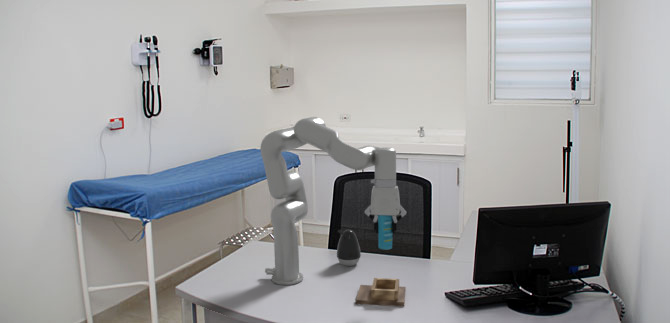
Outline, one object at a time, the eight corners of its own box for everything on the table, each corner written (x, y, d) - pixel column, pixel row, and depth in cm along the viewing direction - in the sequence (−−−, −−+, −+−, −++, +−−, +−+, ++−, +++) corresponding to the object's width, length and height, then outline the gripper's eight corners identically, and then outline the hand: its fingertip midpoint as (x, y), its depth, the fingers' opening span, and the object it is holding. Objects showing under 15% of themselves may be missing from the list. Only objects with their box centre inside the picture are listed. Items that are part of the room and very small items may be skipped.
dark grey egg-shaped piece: (345, 258, 245) (344, 225, 242) (365, 262, 239) (364, 228, 236) (331, 265, 237) (331, 230, 234) (352, 270, 231) (351, 234, 228)
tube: (381, 251, 196) (381, 198, 192) (373, 247, 200) (373, 195, 196) (397, 247, 200) (398, 195, 196) (389, 244, 204) (389, 193, 200)
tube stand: (356, 303, 198) (356, 290, 197) (360, 288, 211) (360, 276, 210) (404, 306, 195) (404, 292, 194) (405, 290, 208) (405, 277, 208)
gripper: (360, 184, 193) (360, 234, 196) (409, 185, 191) (409, 236, 194) (362, 180, 201) (362, 228, 204) (410, 181, 198) (409, 230, 201)
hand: (385, 232), depth 199 cm, fingers closed on tube, 5 cm apart
